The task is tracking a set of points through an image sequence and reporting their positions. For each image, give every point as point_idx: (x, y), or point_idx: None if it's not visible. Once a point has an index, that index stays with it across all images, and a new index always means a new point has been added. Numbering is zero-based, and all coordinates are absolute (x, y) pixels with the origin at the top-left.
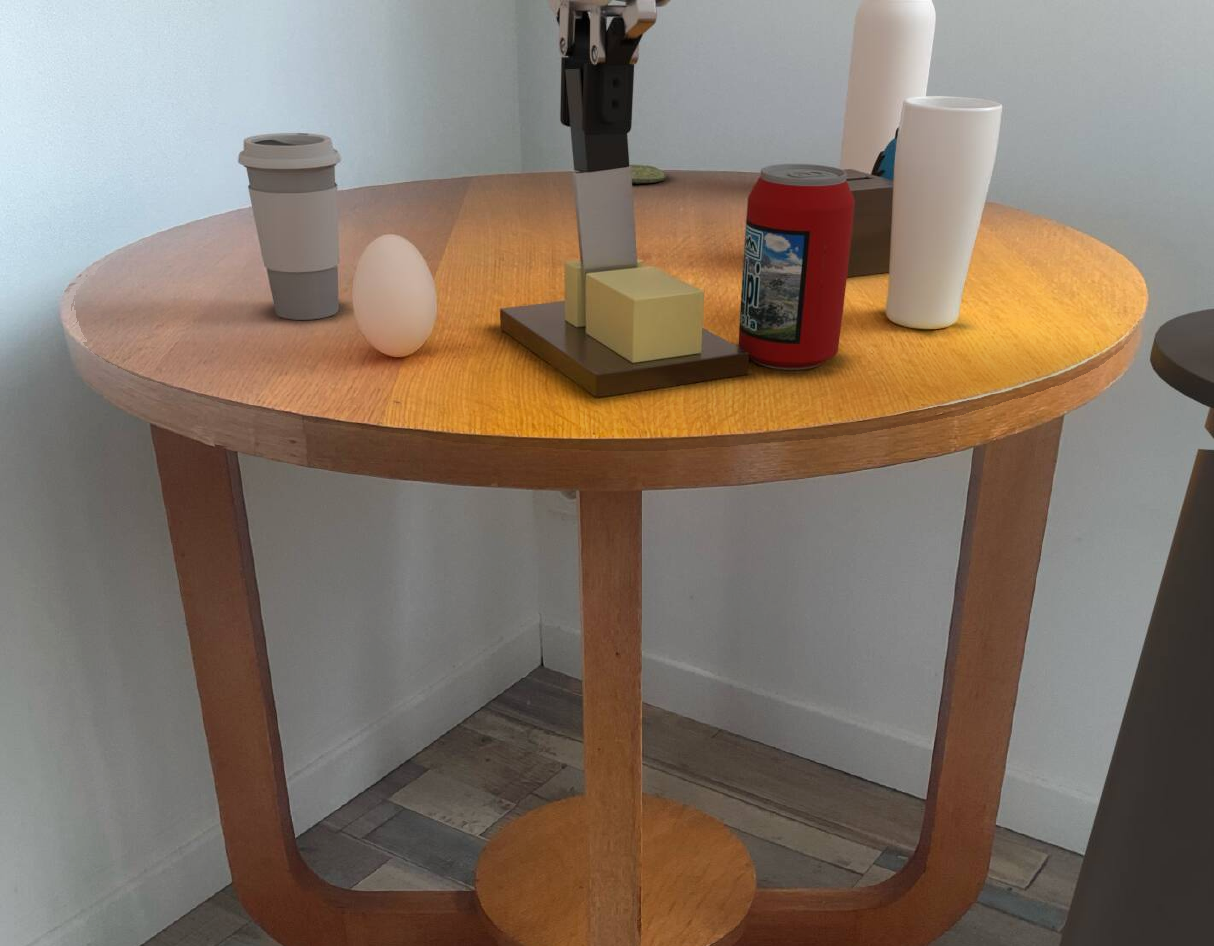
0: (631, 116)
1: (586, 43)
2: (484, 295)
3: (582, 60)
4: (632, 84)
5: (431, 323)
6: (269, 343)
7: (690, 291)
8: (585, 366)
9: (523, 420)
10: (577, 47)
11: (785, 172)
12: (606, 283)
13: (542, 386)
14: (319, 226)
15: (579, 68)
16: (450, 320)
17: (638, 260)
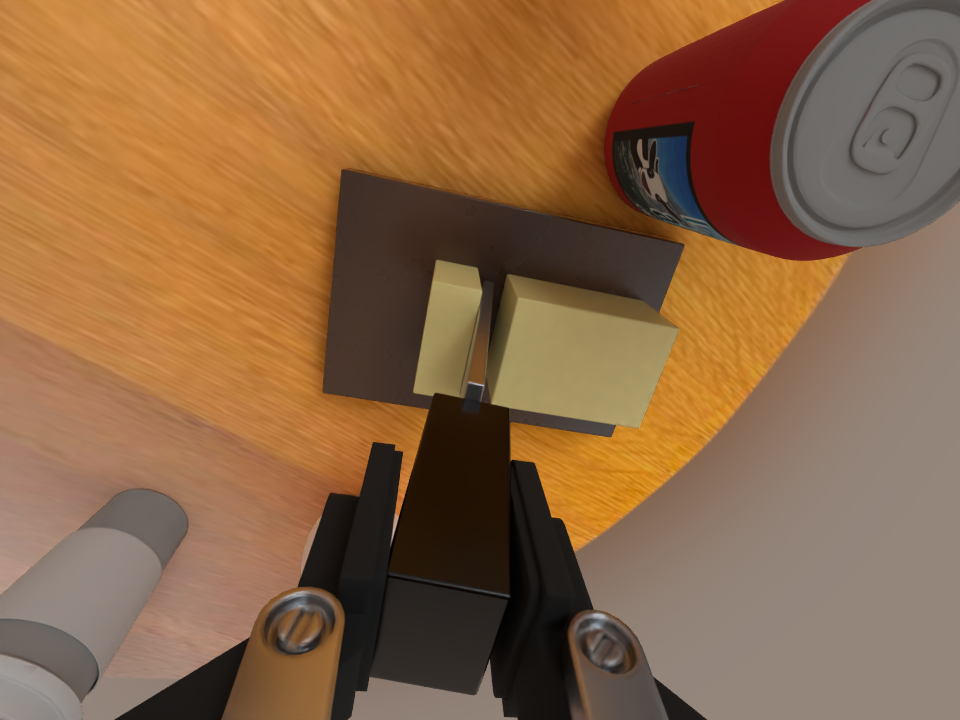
0: (540, 482)
1: (337, 700)
2: (149, 311)
3: (369, 660)
4: (560, 547)
5: (396, 517)
6: (258, 578)
7: (667, 347)
8: (582, 432)
9: (600, 499)
10: (347, 715)
11: (834, 141)
12: (554, 413)
13: (538, 444)
14: (125, 607)
15: (458, 688)
16: (259, 408)
17: (476, 295)
